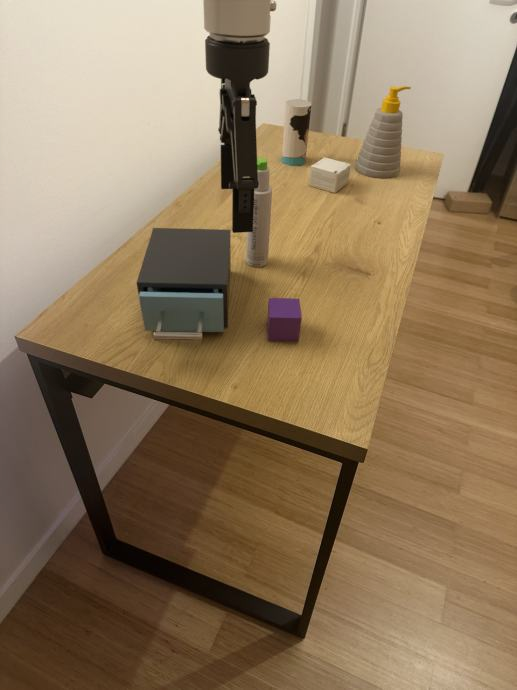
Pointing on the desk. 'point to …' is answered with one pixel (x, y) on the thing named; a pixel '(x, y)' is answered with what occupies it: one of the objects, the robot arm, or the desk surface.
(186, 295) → the drawer
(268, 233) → the bottle
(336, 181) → the small box
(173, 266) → the grey square box housing
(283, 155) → the cup
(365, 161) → the soap bottle
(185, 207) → the desk surface
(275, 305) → the purple cube
